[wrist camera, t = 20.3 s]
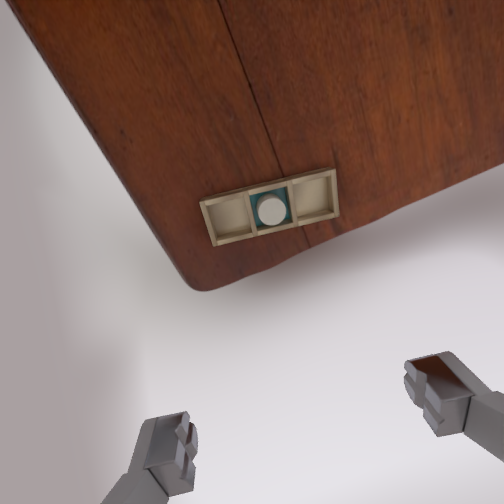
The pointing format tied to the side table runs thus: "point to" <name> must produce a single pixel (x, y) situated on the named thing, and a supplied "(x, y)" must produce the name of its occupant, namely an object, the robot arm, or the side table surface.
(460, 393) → the robot arm
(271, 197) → the cylinder
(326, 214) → the grid
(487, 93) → the side table surface
